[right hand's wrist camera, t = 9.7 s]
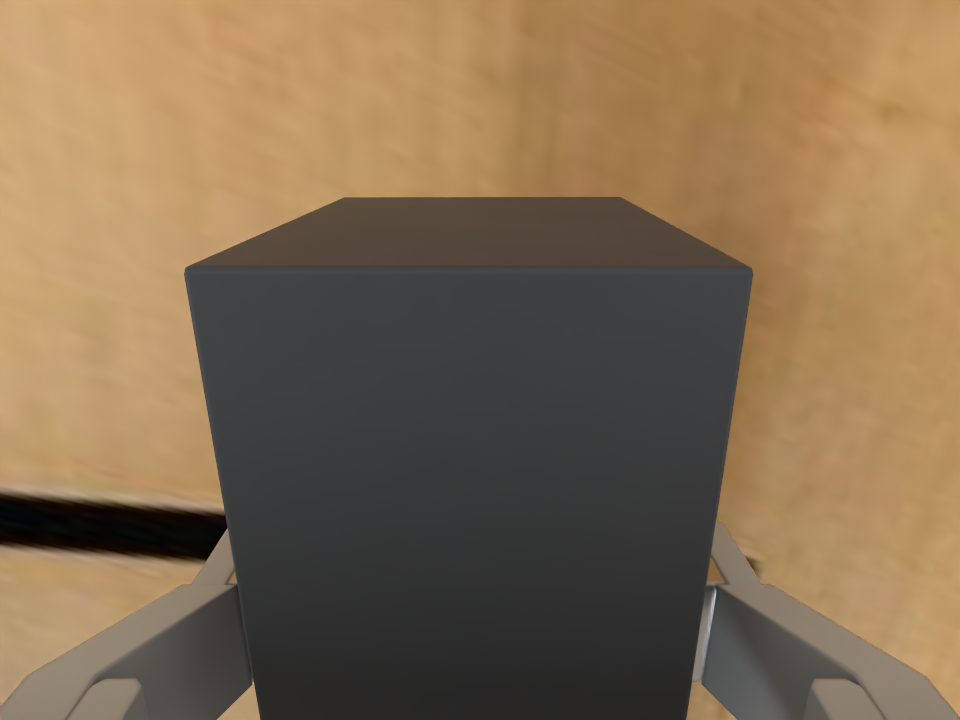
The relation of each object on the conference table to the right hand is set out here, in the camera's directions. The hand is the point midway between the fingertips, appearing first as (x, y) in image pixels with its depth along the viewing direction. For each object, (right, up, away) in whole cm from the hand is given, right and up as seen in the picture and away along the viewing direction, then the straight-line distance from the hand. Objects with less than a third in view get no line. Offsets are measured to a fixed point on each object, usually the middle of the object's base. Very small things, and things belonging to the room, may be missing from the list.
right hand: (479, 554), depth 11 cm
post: (0, -23, +12) cm, 26 cm away
